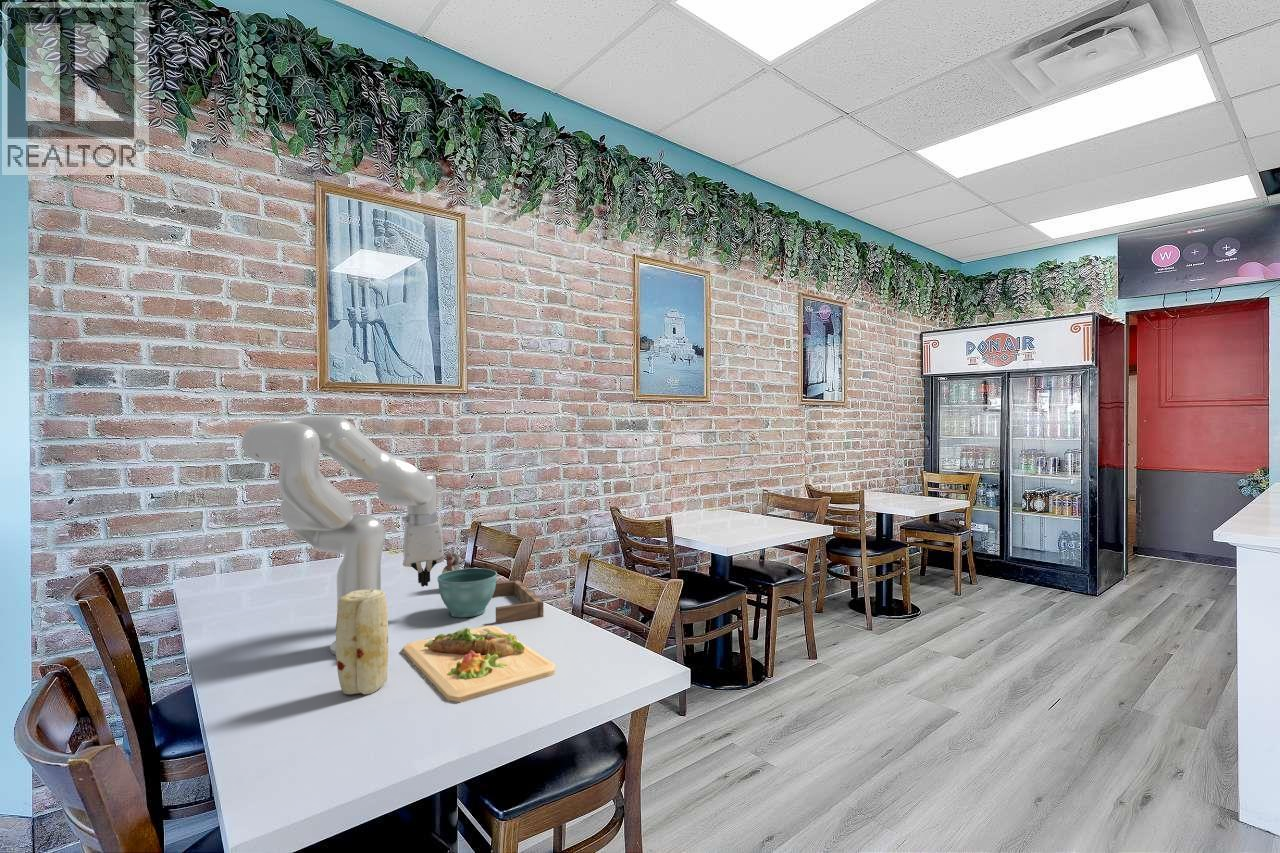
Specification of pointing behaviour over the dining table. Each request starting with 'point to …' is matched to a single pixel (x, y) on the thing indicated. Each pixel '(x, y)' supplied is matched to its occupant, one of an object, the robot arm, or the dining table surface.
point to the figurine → (452, 562)
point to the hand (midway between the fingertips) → (424, 584)
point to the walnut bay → (526, 610)
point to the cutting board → (477, 662)
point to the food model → (362, 641)
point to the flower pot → (467, 590)
